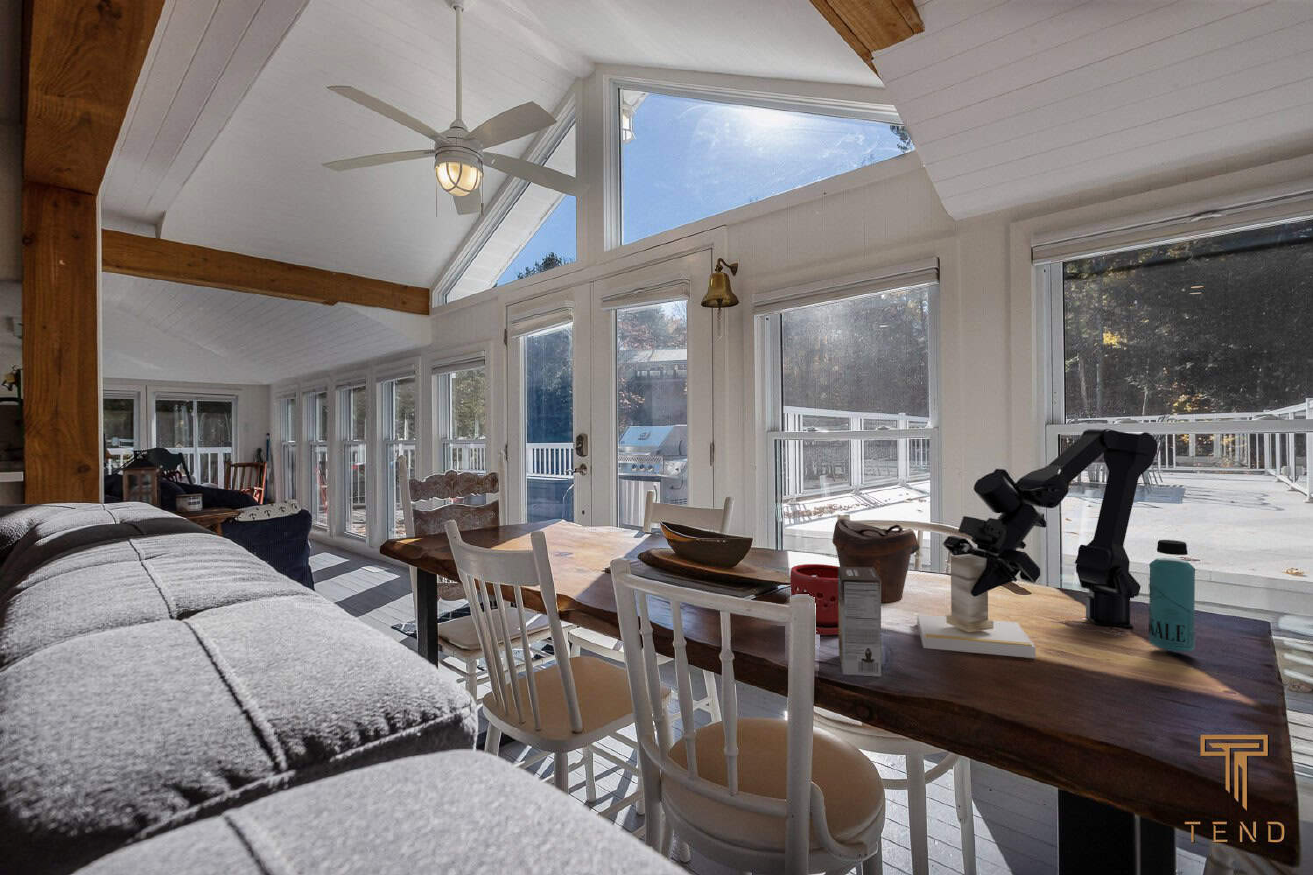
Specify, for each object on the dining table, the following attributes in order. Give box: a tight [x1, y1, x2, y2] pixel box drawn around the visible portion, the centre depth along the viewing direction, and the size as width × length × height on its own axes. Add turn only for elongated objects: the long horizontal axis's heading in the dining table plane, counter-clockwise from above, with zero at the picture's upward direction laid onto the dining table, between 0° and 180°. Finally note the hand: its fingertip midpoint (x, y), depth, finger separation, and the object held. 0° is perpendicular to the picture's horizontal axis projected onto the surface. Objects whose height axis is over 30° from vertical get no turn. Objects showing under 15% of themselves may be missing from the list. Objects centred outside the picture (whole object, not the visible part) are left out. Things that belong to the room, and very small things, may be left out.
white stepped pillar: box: [945, 554, 993, 632], centre depth 117 cm, size 6×6×13 cm
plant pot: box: [789, 563, 839, 636], centre depth 125 cm, size 13×13×12 cm
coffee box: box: [838, 566, 882, 678], centre depth 106 cm, size 9×6×16 cm
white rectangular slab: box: [916, 614, 1036, 659], centre depth 118 cm, size 18×14×2 cm
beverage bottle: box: [1148, 539, 1197, 652], centre depth 109 cm, size 6×7×20 cm
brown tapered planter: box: [831, 518, 921, 603], centre depth 148 cm, size 18×20×18 cm
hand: (963, 591), depth 117 cm, fingers closed on white stepped pillar, 4 cm apart
